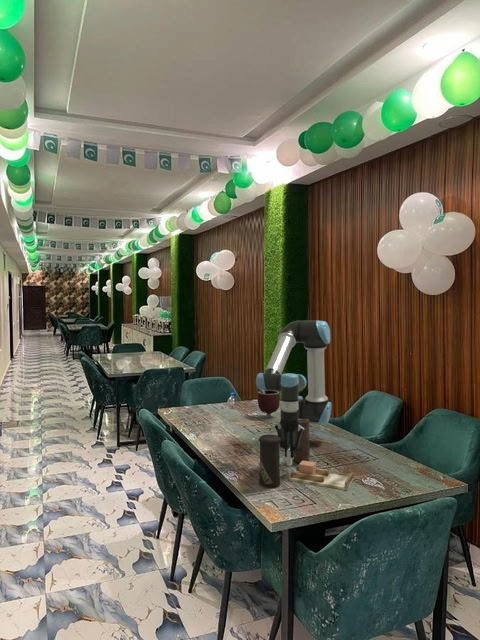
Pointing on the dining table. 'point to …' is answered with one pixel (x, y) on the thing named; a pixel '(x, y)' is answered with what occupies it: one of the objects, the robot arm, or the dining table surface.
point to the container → (269, 461)
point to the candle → (303, 443)
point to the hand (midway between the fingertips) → (289, 464)
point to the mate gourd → (268, 404)
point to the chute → (323, 479)
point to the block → (307, 467)
